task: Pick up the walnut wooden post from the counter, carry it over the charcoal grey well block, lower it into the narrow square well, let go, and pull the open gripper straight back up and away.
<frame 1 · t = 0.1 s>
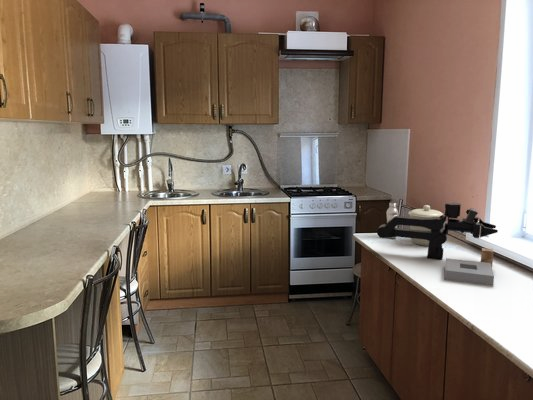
hand: (496, 228, 200), 17 cm above the kitchen counter, tool horizontal, fingers open, 9 cm apart
plastic bottle: (391, 238, 249), on the kitchen counter
well block: (467, 275, 187), on the kitchen counter
walnut post: (486, 267, 198), on the kitchen counter
canister: (424, 243, 237), on the kitchen counter
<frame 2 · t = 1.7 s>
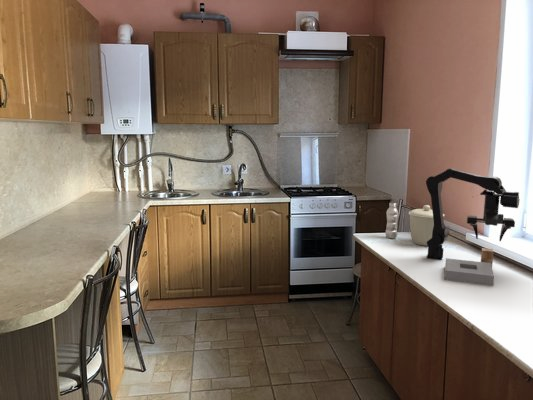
hand: (488, 240, 196), 12 cm above the kitchen counter, tool pointing down, fingers open, 9 cm apart
nothing on the kitchen counter moved.
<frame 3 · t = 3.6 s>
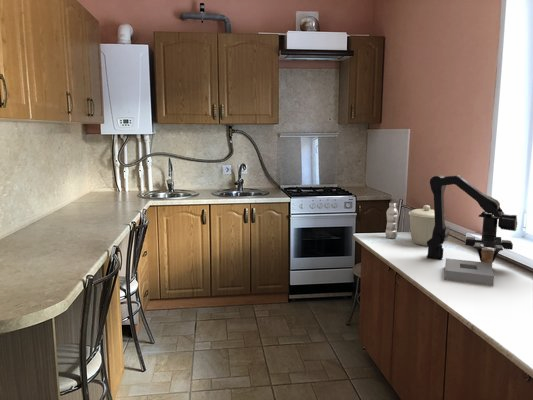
hand: (486, 261, 198), 3 cm above the kitchen counter, tool pointing down, fingers closed on walnut post, 4 cm apart
walnut post: (486, 266, 198), on the kitchen counter, touching gripper
everything else where it was.
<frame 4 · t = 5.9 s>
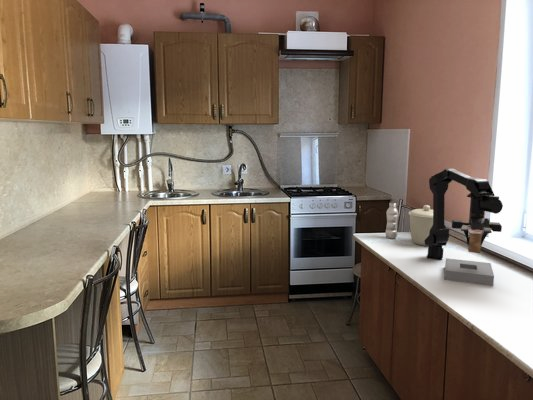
hand: (474, 245, 187), 13 cm above the kitchen counter, tool pointing down, fingers closed on walnut post, 4 cm apart
walnut post: (473, 251, 187), point 10 cm above the kitchen counter, touching gripper
everything else where it was.
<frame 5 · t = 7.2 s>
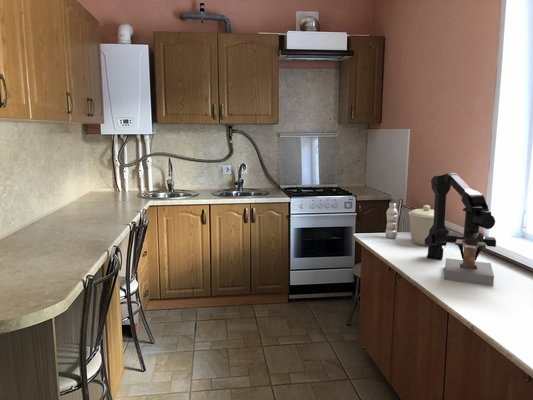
hand: (468, 259, 186), 7 cm above the kitchen counter, tool pointing down, fingers closed on walnut post, 4 cm apart
walnut post: (468, 265, 186), point 4 cm above the kitchen counter, touching gripper
everything else where it was.
when the fingers open (4 cm above the kitchen counter, at t = 8.4 s): walnut post drops 2 cm, resting in well block.
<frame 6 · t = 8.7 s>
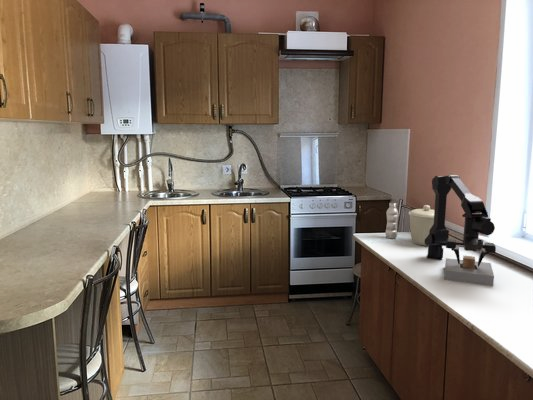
hand: (468, 265, 186), 4 cm above the kitchen counter, tool pointing down, fingers open, 7 cm apart
walnut post: (467, 275, 187), resting in well block
everything else where it was.
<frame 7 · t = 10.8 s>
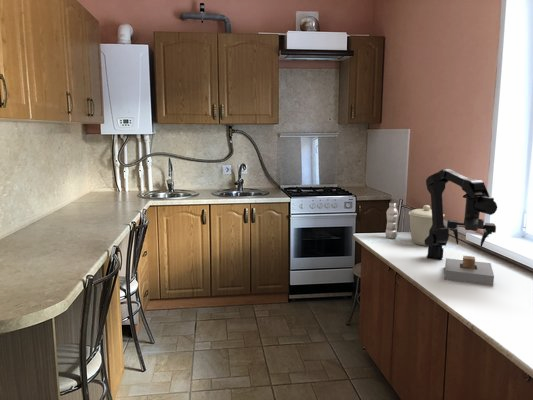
hand: (469, 245, 189), 12 cm above the kitchen counter, tool pointing down, fingers open, 9 cm apart
nothing on the kitchen counter moved.
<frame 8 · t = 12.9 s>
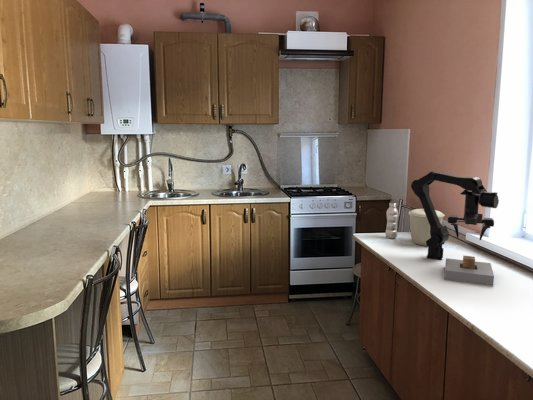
hand: (468, 239, 199), 12 cm above the kitchen counter, tool pointing down, fingers open, 9 cm apart
nothing on the kitchen counter moved.
at the end: walnut post 0.0 cm off-centre on the well block, point 0.0 cm above the well block's base; the gripper is holding nothing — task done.
